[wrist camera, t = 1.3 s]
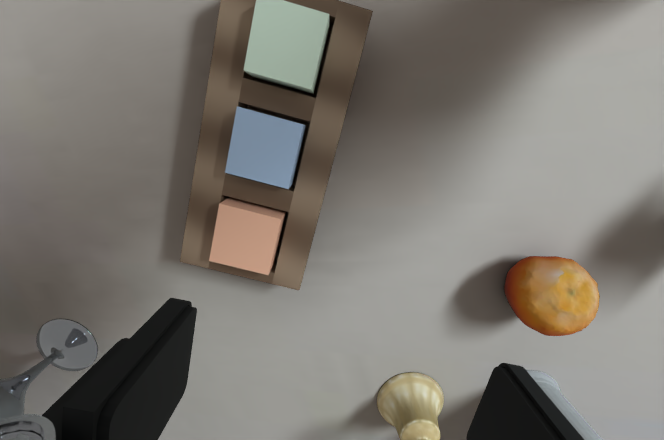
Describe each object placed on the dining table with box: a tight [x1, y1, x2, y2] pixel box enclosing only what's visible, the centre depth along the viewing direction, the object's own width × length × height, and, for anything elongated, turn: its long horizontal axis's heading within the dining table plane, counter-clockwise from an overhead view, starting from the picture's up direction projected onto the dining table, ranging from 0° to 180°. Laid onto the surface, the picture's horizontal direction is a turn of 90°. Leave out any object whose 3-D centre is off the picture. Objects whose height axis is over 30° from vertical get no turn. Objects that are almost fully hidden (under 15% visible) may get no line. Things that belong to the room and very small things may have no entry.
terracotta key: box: [209, 197, 286, 275], centre depth 31 cm, size 6×6×3 cm
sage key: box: [244, 0, 330, 94], centre depth 27 cm, size 6×6×3 cm
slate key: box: [225, 106, 306, 189], centre depth 29 cm, size 6×6×3 cm
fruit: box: [504, 256, 600, 336], centre depth 34 cm, size 8×8×8 cm
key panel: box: [180, 0, 373, 290], centre depth 31 cm, size 26×12×4 cm, turn 165°
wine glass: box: [0, 319, 98, 419], centre depth 31 cm, size 8×8×15 cm
